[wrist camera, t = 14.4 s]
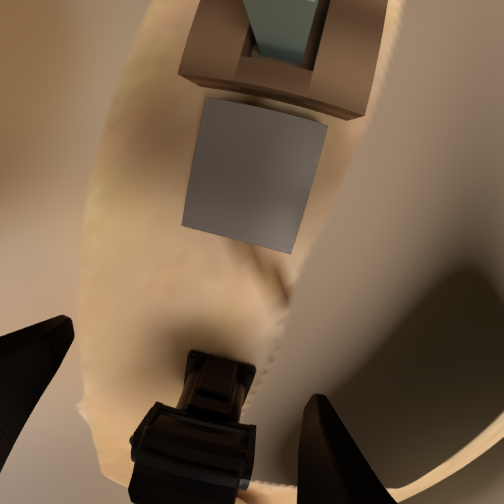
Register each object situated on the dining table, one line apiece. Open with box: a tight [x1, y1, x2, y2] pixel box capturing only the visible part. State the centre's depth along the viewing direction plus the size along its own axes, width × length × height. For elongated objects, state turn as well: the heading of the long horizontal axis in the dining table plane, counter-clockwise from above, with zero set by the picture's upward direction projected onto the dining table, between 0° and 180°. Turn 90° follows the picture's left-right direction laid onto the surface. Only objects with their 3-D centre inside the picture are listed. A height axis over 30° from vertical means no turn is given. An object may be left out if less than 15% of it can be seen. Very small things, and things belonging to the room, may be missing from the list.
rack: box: [178, 0, 388, 121], centre depth 13 cm, size 11×10×4 cm
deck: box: [182, 98, 328, 254], centre depth 17 cm, size 8×7×3 cm
